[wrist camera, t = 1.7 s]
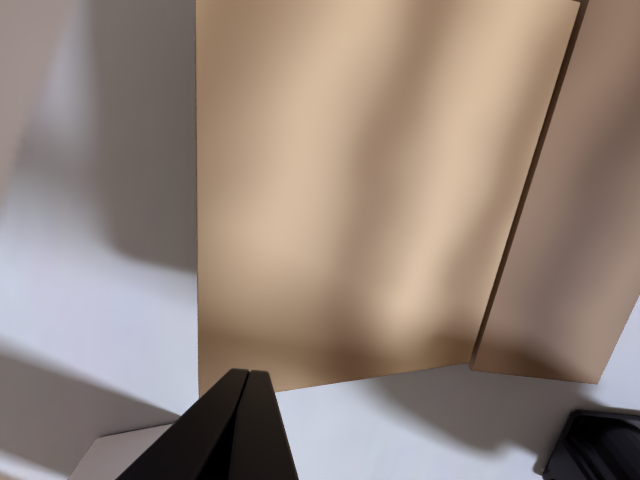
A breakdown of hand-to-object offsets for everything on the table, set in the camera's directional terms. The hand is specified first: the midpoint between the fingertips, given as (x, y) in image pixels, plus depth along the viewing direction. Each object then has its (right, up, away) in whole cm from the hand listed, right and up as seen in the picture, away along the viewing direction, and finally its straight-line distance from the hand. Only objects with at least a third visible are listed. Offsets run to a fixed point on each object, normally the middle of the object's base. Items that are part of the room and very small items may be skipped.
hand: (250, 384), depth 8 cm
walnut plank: (+14, +5, +11) cm, 19 cm away
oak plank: (+3, +5, +8) cm, 10 cm away
